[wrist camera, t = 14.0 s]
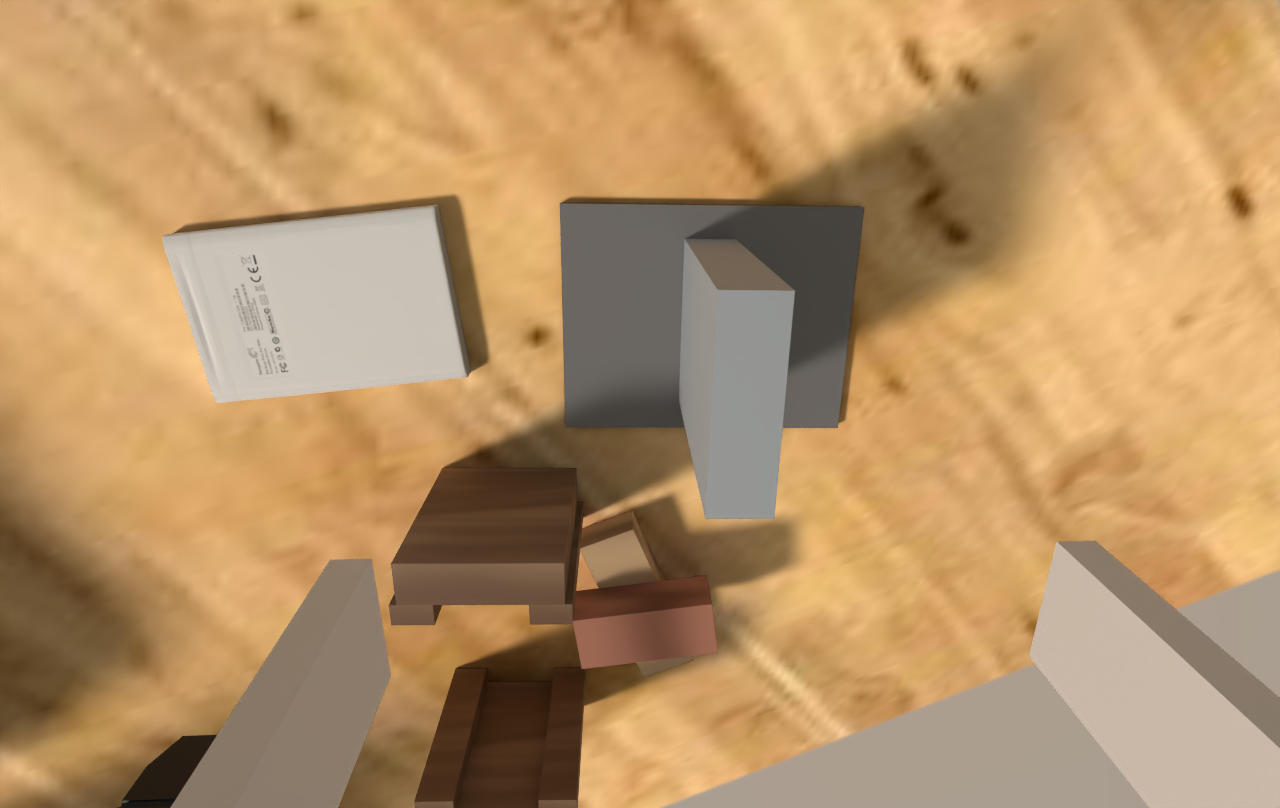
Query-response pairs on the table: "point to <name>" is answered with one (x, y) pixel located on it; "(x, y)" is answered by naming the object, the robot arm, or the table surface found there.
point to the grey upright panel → (734, 375)
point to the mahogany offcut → (644, 622)
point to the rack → (498, 575)
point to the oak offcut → (623, 565)
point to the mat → (652, 303)
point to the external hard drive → (321, 303)
